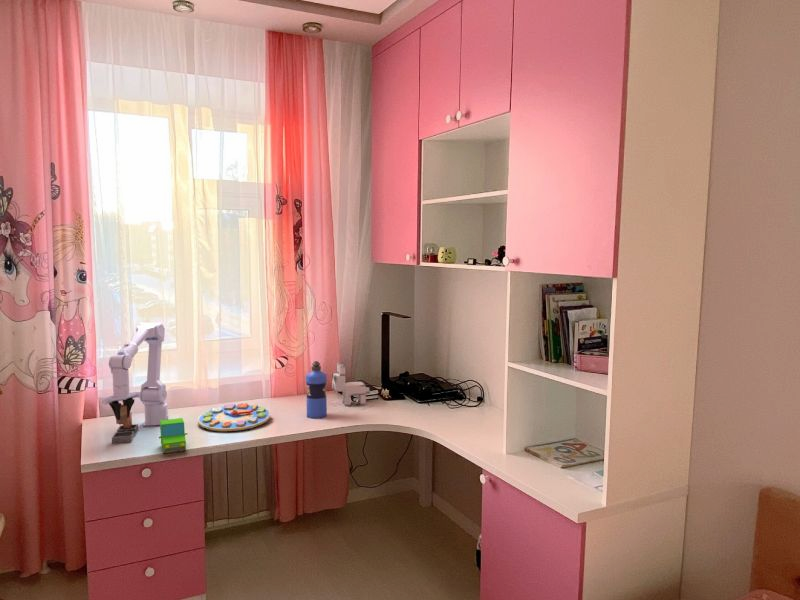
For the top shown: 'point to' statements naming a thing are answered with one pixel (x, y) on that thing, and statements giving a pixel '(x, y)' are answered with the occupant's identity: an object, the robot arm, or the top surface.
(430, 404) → the top surface
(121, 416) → the wooden block with lid
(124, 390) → the robot arm
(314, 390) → the water bottle
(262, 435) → the top surface
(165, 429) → the toy car
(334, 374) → the toy llama
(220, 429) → the shape sorting clock
